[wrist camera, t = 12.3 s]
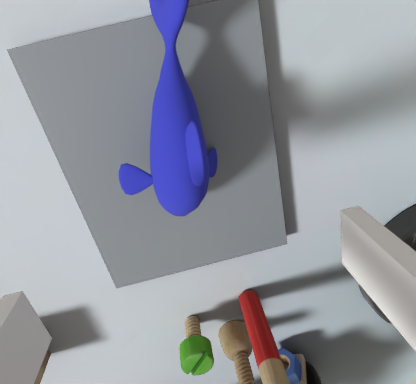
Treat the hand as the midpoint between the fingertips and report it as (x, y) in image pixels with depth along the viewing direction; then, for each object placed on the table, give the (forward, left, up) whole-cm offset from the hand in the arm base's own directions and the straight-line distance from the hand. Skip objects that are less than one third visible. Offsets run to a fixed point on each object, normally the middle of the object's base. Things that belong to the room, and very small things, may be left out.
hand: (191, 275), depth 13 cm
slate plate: (0, 0, -14) cm, 14 cm away
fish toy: (0, -5, -13) cm, 13 cm away
